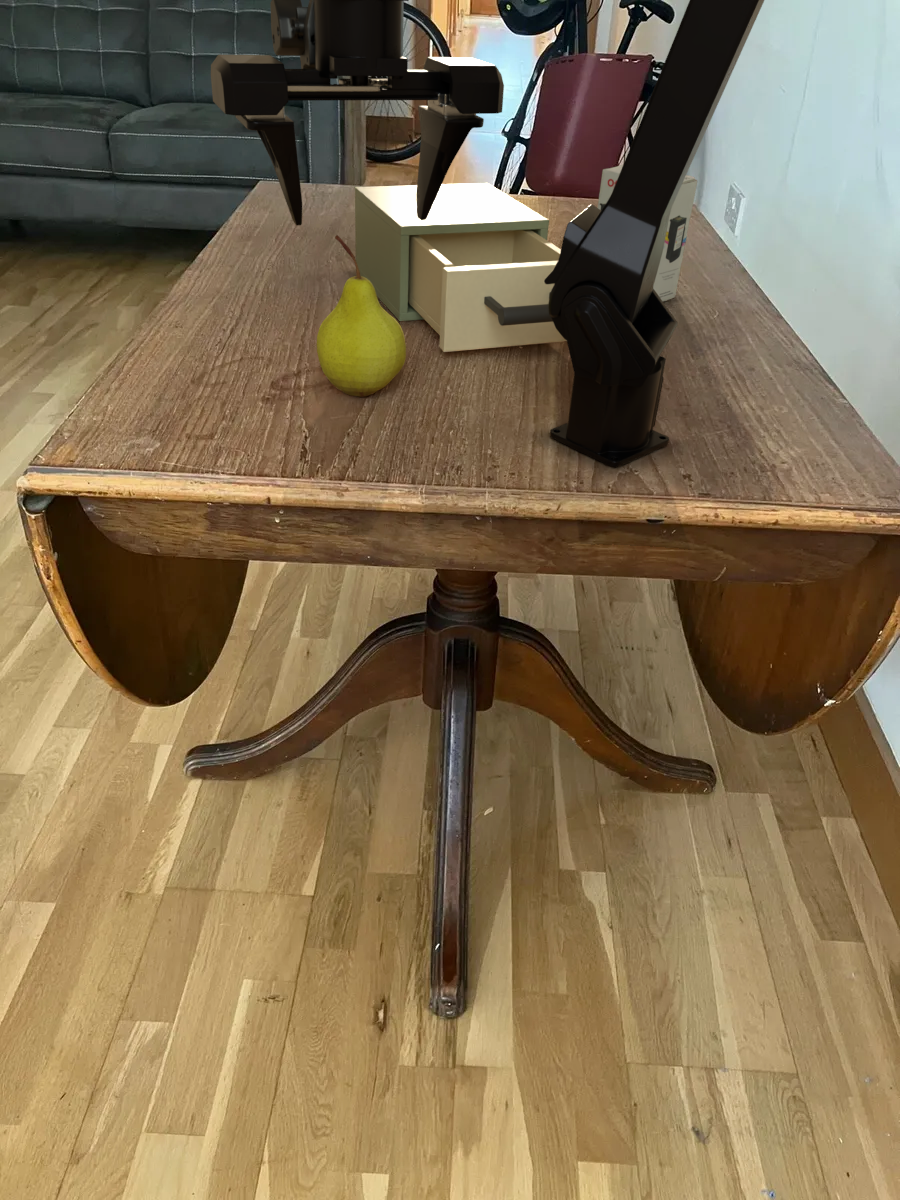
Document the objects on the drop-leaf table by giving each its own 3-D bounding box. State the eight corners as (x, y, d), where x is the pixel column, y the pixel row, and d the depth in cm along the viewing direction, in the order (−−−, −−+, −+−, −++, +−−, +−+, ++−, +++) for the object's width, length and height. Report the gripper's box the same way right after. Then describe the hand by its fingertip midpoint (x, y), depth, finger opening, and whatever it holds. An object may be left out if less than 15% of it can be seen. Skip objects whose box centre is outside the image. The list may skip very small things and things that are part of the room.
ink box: (583, 286, 100) (599, 166, 93) (611, 277, 103) (628, 161, 96) (650, 307, 96) (671, 183, 89) (677, 297, 98) (699, 177, 92)
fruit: (409, 378, 78) (413, 226, 71) (399, 412, 72) (402, 252, 65) (326, 372, 78) (322, 220, 71) (310, 406, 72) (303, 245, 65)
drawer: (609, 359, 81) (621, 279, 77) (463, 374, 76) (468, 290, 73) (519, 290, 95) (526, 219, 91) (393, 298, 91) (394, 225, 87)
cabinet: (540, 310, 93) (549, 219, 88) (399, 321, 89) (400, 226, 84) (482, 265, 105) (487, 182, 100) (355, 272, 100) (354, 186, 95)
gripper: (454, -41, 67) (445, 191, 76) (187, -54, 62) (211, 199, 71) (515, -34, 59) (497, 226, 68) (213, -47, 53) (237, 239, 62)
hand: (360, 221), depth 67 cm, fingers open, 9 cm apart
